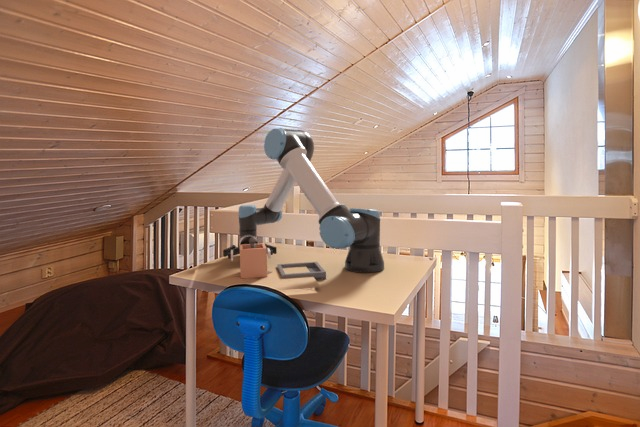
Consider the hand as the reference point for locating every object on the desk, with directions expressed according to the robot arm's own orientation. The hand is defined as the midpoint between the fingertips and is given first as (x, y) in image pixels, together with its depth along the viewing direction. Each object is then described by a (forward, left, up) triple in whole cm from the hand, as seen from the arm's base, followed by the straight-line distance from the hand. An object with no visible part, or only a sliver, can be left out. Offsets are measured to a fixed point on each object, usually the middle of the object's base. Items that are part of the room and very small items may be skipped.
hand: (251, 256), depth 145 cm
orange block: (-3, +4, -5) cm, 7 cm away
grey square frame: (-17, -6, -7) cm, 19 cm away
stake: (-3, +4, -7) cm, 8 cm away
